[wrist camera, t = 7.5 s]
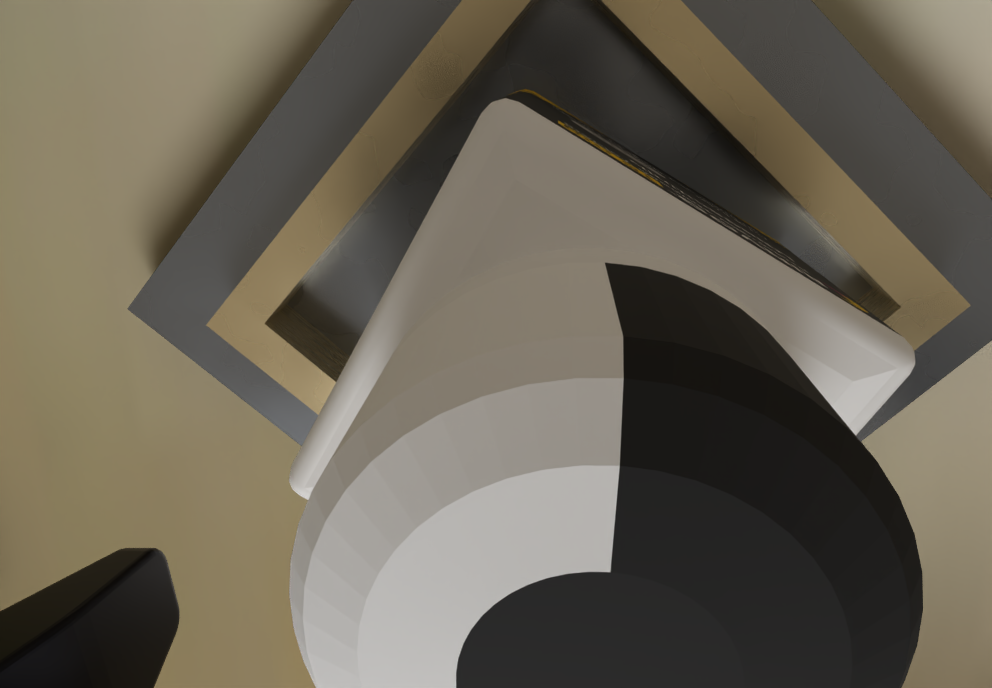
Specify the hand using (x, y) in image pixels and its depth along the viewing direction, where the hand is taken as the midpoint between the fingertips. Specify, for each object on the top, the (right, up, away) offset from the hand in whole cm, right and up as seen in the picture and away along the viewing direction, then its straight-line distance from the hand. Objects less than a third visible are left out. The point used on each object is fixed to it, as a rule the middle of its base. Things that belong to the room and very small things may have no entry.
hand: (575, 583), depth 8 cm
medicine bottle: (+1, +4, +10) cm, 11 cm away
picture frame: (+1, +4, +11) cm, 12 cm away
